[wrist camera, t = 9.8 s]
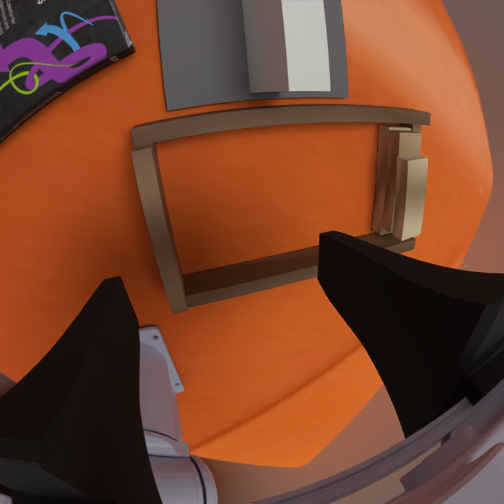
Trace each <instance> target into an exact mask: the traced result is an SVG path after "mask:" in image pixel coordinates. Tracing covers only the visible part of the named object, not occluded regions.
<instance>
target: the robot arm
mask: <svg viewBox="0 0 504 504" xmlns="http://www.w3.org/2000/svg"><path fill="white" fill-rule="evenodd" d="M317 279H318V281H319V283H320V285H321V287H322V288H323V290H324V292H325V294H326V296H327V297H328V299H329V300H330V302H331V303H332V305H333V306H334V307H335V309H336V310H337V311H338V313H339V314H340V315H341V317H342V318H343V319H344V320H345V322H346V323H347V324H348V326H349V327H350V328H351V330H352V331H353V332H354V334H355V335H356V336H357V338H358V339H359V340H360V342H361V343H362V345H363V346H364V348H365V349H366V351H367V353H368V355H369V356H370V358H371V360H372V362H373V364H374V365H375V367H376V369H377V371H378V373H379V375H380V377H381V379H382V381H383V383H384V385H385V387H386V389H387V391H388V394H389V396H390V398H391V401H392V403H393V405H394V407H395V410H396V413H397V415H398V418H399V421H400V424H401V426H402V430H403V433H404V436H405V438H406V439H404V440H403V441H401V442H400V443H398V444H396V445H395V446H392V447H391V448H389V449H387V450H385V451H383V452H382V453H380V454H378V455H376V456H374V457H372V458H370V459H368V460H366V461H364V462H362V463H360V464H358V465H356V466H354V467H351V468H349V469H347V470H345V471H342V472H340V473H338V474H335V475H333V476H331V477H328V478H326V479H323V480H321V481H318V482H315V483H313V484H310V485H307V486H305V487H302V488H299V489H296V490H293V491H290V492H287V493H283V494H280V495H277V496H273V497H270V498H266V499H263V500H259V501H255V502H251V503H246V504H330V503H332V502H335V501H337V500H339V499H341V498H344V497H346V496H348V495H350V494H353V493H355V492H357V491H359V490H361V489H363V488H365V487H367V486H369V485H371V484H373V483H375V482H377V481H379V480H381V479H382V478H384V477H386V476H388V475H390V474H391V473H393V472H395V471H396V470H398V469H400V468H402V467H403V466H405V465H407V464H408V463H410V462H411V461H413V460H415V459H416V458H418V457H419V456H421V455H422V454H424V453H425V452H427V451H428V450H430V449H431V448H432V447H434V446H435V445H437V444H438V443H439V442H441V441H442V442H441V447H439V448H438V449H437V450H436V451H434V452H433V453H432V454H430V455H429V456H428V457H426V458H425V459H424V460H423V461H422V462H421V463H420V464H419V465H417V466H416V467H415V468H414V469H412V470H411V471H410V472H408V473H407V474H406V475H404V476H403V477H401V479H400V482H401V483H402V485H403V487H404V488H405V492H404V493H402V494H400V495H399V496H397V497H395V498H393V499H392V500H390V501H388V502H386V503H384V504H504V274H501V273H482V272H473V271H465V270H459V269H454V268H448V267H443V266H439V265H435V264H431V263H427V262H423V261H420V260H416V259H413V258H410V257H407V256H404V255H401V254H398V253H395V252H392V251H390V250H387V249H384V248H382V247H379V246H377V245H374V244H371V243H369V242H366V241H364V240H361V239H358V238H356V237H353V236H350V235H348V234H345V233H341V232H338V231H329V232H325V233H320V236H319V259H318V277H317ZM155 335H156V337H155ZM183 391H184V386H183V383H182V381H181V379H180V377H179V375H178V372H177V370H176V368H175V366H174V363H173V361H172V359H171V356H170V354H169V352H168V349H167V347H166V344H165V342H164V340H163V337H162V335H161V332H160V330H159V328H158V327H156V326H151V327H146V328H141V329H139V325H138V319H137V317H136V314H135V312H134V309H133V307H132V305H131V302H130V300H129V297H128V295H127V292H126V289H125V287H124V284H123V281H122V279H121V276H118V277H113V278H109V279H105V280H104V281H103V282H102V283H101V284H100V285H99V287H98V288H97V289H96V291H95V292H94V293H93V295H92V296H91V298H90V299H89V300H88V302H87V303H86V304H85V306H84V307H83V309H82V310H81V311H80V313H79V314H78V316H77V317H76V318H75V319H74V321H73V322H72V323H71V325H70V326H69V327H68V329H67V330H66V331H65V333H64V334H63V335H62V337H61V338H60V339H59V340H58V341H57V343H56V344H55V345H54V346H53V347H52V348H51V350H50V351H49V352H48V353H47V354H46V355H45V356H44V357H43V359H42V360H41V361H40V362H39V363H38V364H37V365H36V366H35V367H34V368H33V369H32V370H31V371H30V372H29V373H28V374H27V375H26V376H25V377H24V378H23V379H22V380H20V381H19V382H18V383H17V384H16V385H15V386H14V387H13V388H11V389H10V390H9V391H8V392H7V393H6V394H4V395H3V396H2V397H1V398H0V483H1V484H3V485H5V486H6V487H8V488H10V489H11V490H12V498H11V497H9V496H6V495H4V494H1V493H0V504H217V501H218V499H217V489H216V485H215V481H214V478H213V476H212V473H211V471H210V470H209V468H208V467H207V465H206V464H204V462H203V461H202V460H201V459H200V458H199V457H198V456H196V455H190V454H189V449H188V444H187V443H183V436H182V431H181V425H180V419H179V413H178V407H177V400H176V394H175V393H180V392H183Z"/></svg>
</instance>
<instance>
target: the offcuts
mask: <svg viewBox="0 0 504 504" xmlns="http://www.w3.org/2000/svg"><path fill="white" fill-rule="evenodd" d="M420 149H421V133H418V132H414V131H411V128H409V127H405V126H401V125H378V155H377V173H376V187H375V199H374V210H373V219H372V228H371V229H373V230H374V231H375V232H377V233H378V234H379V235H383V234H387V233H392V232H393V233H392V234H393V235H394V236H396V237H397V238H398V239H400V240H401V241H403V240H406V239H409V238H411V237H414V236H417V235H420V234H421V227H422V219H423V212H424V203H425V193H426V182H427V167H428V158H426V157H424V156H421V155H420Z"/></svg>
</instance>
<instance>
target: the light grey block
mask: <svg viewBox="0 0 504 504" xmlns="http://www.w3.org/2000/svg"><path fill="white" fill-rule="evenodd" d="M242 7H243V18H244V28H245V39H246V51H247V62H248V74H249V85H250V93H257V92H277V91H330V71H329V56H328V44H327V32H326V22H325V13H324V4H323V0H242Z"/></svg>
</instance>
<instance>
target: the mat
mask: <svg viewBox="0 0 504 504" xmlns="http://www.w3.org/2000/svg"><path fill="white" fill-rule="evenodd" d="M323 4H324V13H325V22H326V32H327V44H328V56H329V71H330V91H277V92H257V93H250V85H249V74H248V62H247V51H246V39H245V28H244V18H243V7H242V0H157V9H158V24H159V37H160V49H161V60H162V70H163V79H164V88H165V96H166V105H167V111H170V110H175V109H181V108H187V107H194V106H200V105H208V104H215V103H224V102H233V101H243V100H256V99H271V98H297V97H333V98H348V77H347V60H346V46H345V35H344V24H343V15H342V7H341V0H323Z"/></svg>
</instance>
